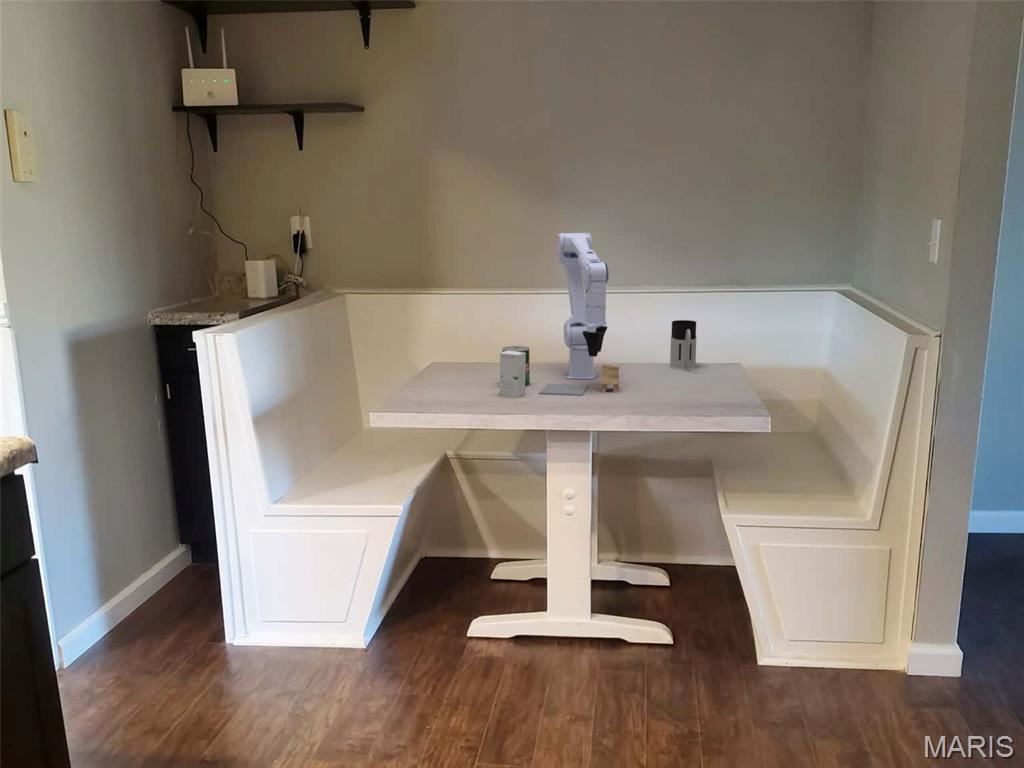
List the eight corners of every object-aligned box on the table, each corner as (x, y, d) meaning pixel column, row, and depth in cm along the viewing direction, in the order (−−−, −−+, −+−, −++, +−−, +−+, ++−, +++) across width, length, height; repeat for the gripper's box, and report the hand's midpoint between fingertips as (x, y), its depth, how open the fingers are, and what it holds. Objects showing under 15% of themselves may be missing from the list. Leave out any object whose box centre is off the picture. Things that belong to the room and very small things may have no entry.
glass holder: (694, 366, 273) (695, 319, 270) (702, 375, 259) (704, 326, 256) (666, 366, 273) (667, 320, 270) (673, 375, 260) (675, 326, 256)
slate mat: (547, 385, 247) (547, 383, 247) (588, 387, 245) (588, 385, 244) (539, 394, 236) (539, 392, 236) (582, 396, 233) (582, 394, 233)
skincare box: (499, 396, 235) (498, 352, 233) (507, 392, 239) (506, 350, 236) (518, 398, 232) (518, 354, 230) (526, 395, 236) (526, 351, 233)
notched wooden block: (602, 389, 242) (602, 364, 240) (618, 389, 241) (618, 365, 239) (601, 392, 237) (601, 367, 236) (617, 393, 237) (617, 368, 235)
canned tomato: (527, 388, 244) (526, 350, 241) (500, 388, 245) (499, 350, 243) (532, 383, 251) (531, 346, 249) (505, 382, 253) (505, 345, 251)
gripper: (584, 302, 246) (584, 349, 249) (577, 309, 232) (577, 358, 235) (609, 303, 245) (608, 349, 247) (603, 309, 231) (602, 358, 234)
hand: (595, 353), depth 241 cm, fingers open, 7 cm apart
